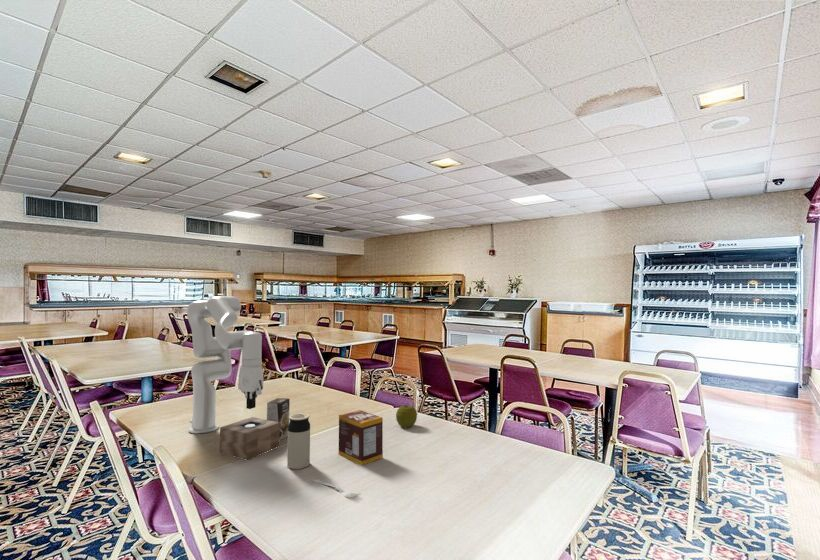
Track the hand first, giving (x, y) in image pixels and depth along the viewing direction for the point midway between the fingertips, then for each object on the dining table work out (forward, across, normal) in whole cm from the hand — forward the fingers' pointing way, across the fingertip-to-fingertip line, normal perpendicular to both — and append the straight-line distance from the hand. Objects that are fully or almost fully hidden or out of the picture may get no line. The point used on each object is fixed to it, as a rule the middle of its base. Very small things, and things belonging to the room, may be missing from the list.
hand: (250, 407), depth 166 cm
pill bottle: (+16, 0, 0) cm, 16 cm away
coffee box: (+17, -1, +16) cm, 23 cm away
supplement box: (+17, +43, +16) cm, 49 cm away
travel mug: (+17, +28, -2) cm, 33 cm away
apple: (+17, +42, +56) cm, 72 cm away
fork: (+18, +50, -10) cm, 54 cm away
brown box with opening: (+17, 0, 0) cm, 17 cm away
